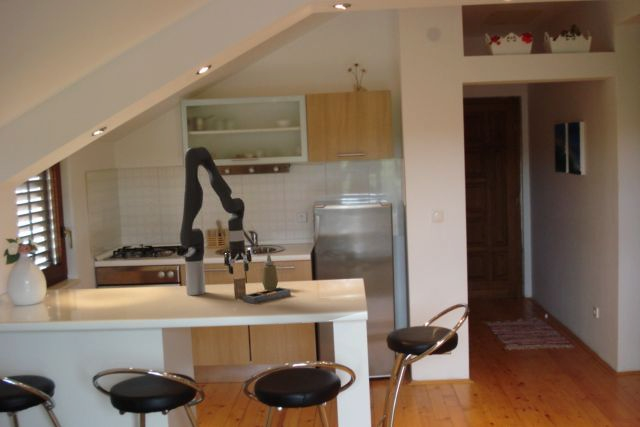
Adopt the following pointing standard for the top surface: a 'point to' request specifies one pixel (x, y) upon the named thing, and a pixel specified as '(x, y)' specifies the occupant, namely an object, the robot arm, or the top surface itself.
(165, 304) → the top surface
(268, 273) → the squeeze bottle
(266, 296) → the grey compartment tray
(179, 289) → the top surface
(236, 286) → the walnut peg
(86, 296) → the top surface
